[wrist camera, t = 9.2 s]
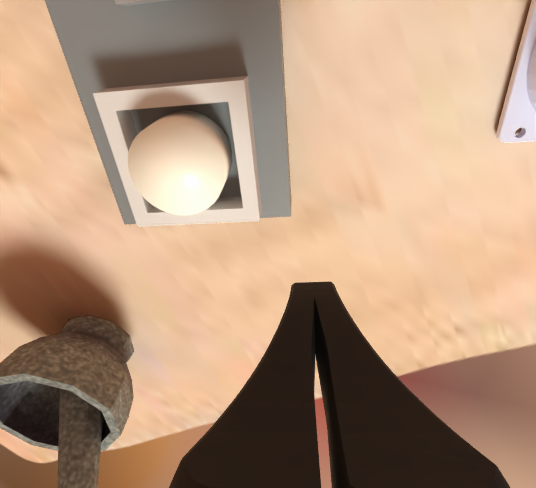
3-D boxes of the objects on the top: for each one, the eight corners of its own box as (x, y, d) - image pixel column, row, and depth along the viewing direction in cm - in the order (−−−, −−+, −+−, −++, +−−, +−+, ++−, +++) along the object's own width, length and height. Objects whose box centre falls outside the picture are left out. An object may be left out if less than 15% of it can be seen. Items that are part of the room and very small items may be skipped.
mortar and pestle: (18, 326, 29) (-128, 486, 19) (86, 281, 26) (-47, 445, 16) (118, 395, 34) (42, 553, 24) (186, 364, 30) (133, 532, 20)
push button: (225, 106, 16) (215, 118, 14) (237, 192, 18) (230, 213, 16) (137, 113, 17) (114, 126, 14) (160, 196, 19) (143, 217, 17)
